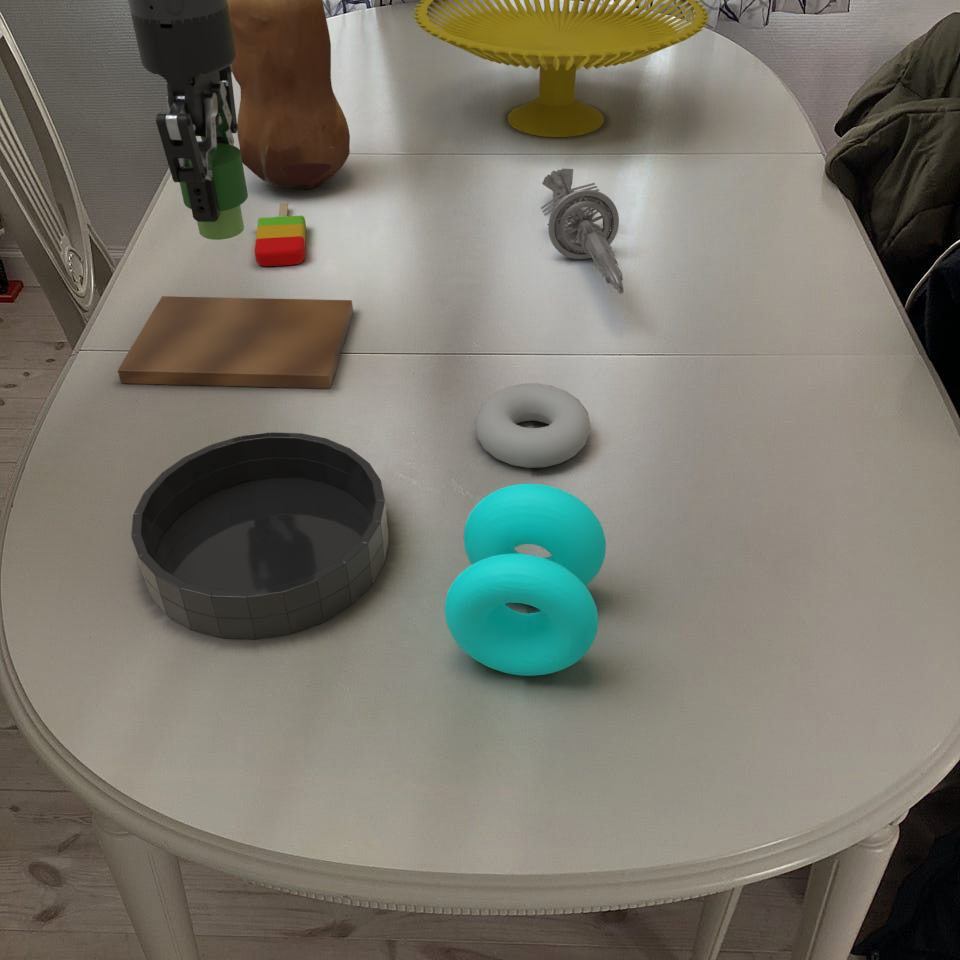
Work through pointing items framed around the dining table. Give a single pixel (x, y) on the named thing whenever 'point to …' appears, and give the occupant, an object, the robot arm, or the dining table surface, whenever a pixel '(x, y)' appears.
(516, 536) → the donuts
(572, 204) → the spaceship
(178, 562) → the pan
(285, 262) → the popsicle
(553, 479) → the dining table surface
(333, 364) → the board
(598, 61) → the cake stand
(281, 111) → the butternut squash
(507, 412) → the donut
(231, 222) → the green cylinder
